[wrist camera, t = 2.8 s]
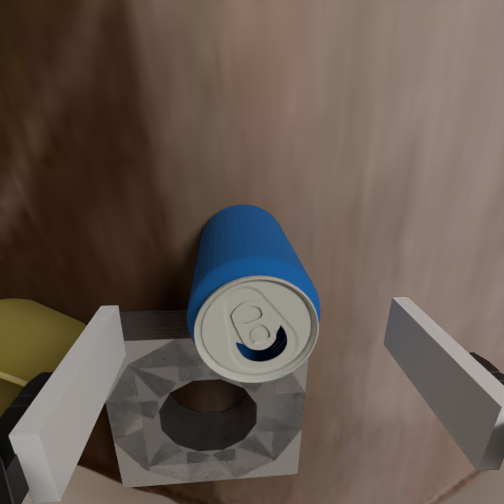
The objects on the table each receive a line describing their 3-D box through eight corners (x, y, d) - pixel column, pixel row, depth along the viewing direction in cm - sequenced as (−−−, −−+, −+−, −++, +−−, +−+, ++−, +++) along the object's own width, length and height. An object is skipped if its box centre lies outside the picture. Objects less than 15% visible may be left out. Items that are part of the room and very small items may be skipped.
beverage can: (220, 289, 27) (219, 407, 16) (187, 221, 24) (156, 302, 13) (293, 261, 26) (344, 361, 15) (266, 189, 24) (303, 245, 13)
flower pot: (12, 266, 24) (-97, 339, 16) (119, 315, 27) (72, 401, 18) (-25, 347, 27) (-137, 448, 18) (77, 386, 29) (18, 491, 21)
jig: (134, 446, 32) (123, 487, 29) (110, 312, 26) (92, 342, 23) (289, 435, 34) (297, 473, 30) (299, 305, 28) (310, 333, 24)
